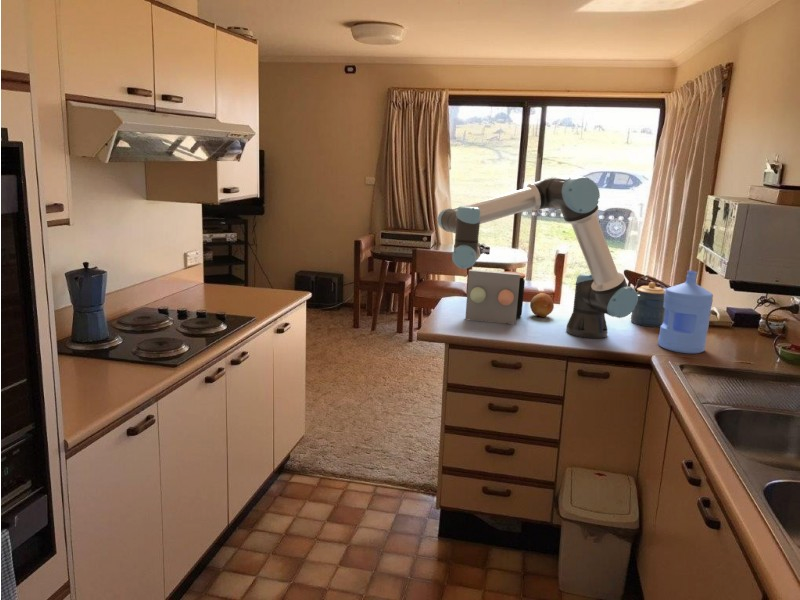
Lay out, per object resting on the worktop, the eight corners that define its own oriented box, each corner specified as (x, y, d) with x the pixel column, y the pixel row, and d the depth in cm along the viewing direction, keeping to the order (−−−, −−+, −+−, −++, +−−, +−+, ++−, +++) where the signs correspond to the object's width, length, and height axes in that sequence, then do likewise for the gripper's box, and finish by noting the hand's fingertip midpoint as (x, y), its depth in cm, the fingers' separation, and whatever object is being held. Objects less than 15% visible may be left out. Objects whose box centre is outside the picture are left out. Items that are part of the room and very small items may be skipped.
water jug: (679, 340, 232) (690, 267, 226) (714, 352, 217) (727, 275, 212) (647, 343, 226) (658, 268, 220) (681, 355, 212) (693, 276, 206)
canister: (641, 327, 249) (647, 285, 245) (624, 319, 261) (629, 279, 257) (670, 327, 251) (676, 285, 248) (651, 319, 264) (657, 279, 260)
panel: (466, 317, 251) (469, 269, 246) (515, 322, 246) (520, 273, 242) (465, 319, 248) (468, 270, 243) (515, 324, 244) (519, 274, 239)
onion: (523, 314, 261) (526, 291, 259) (540, 312, 266) (542, 290, 264) (540, 320, 253) (543, 296, 251) (557, 317, 258) (559, 294, 256)
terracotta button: (498, 300, 249) (500, 285, 247) (513, 301, 247) (515, 287, 246) (497, 304, 240) (498, 289, 239) (512, 306, 239) (514, 291, 238)
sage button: (471, 297, 251) (473, 283, 249) (486, 299, 249) (487, 284, 248) (469, 302, 243) (470, 287, 241) (484, 303, 241) (485, 288, 240)
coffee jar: (520, 313, 262) (524, 272, 259) (522, 319, 252) (526, 276, 248) (495, 312, 263) (498, 270, 260) (496, 317, 253) (500, 275, 249)
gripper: (449, 261, 209) (458, 252, 232) (487, 264, 206) (493, 255, 229) (450, 239, 208) (459, 233, 230) (489, 242, 205) (494, 235, 227)
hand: (476, 244), depth 230 cm, fingers closed
